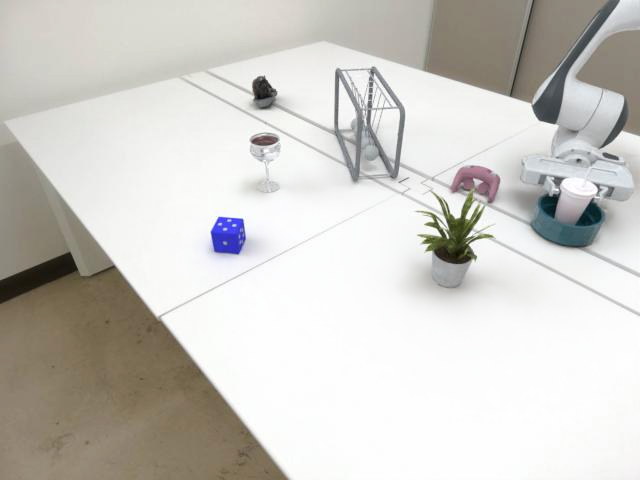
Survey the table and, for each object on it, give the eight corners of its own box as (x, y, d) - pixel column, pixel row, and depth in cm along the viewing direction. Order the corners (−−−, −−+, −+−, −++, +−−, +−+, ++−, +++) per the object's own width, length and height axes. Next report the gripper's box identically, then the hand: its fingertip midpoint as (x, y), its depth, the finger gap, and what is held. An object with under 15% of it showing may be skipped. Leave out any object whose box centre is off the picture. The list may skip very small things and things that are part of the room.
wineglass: (262, 197, 102) (257, 149, 95) (249, 184, 107) (243, 137, 99) (288, 188, 105) (286, 141, 98) (274, 175, 110) (270, 129, 102)
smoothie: (569, 240, 89) (597, 178, 80) (539, 224, 93) (562, 164, 84) (585, 227, 92) (613, 167, 84) (555, 213, 96) (579, 154, 87)
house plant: (415, 240, 90) (427, 168, 80) (487, 257, 86) (510, 183, 76) (398, 288, 80) (409, 212, 70) (479, 309, 76) (504, 232, 66)
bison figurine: (257, 96, 149) (254, 64, 143) (279, 96, 149) (277, 65, 142) (252, 111, 140) (248, 78, 133) (275, 111, 139) (272, 78, 133)
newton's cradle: (398, 181, 108) (406, 109, 97) (354, 184, 107) (358, 111, 95) (369, 126, 131) (374, 63, 120) (333, 129, 130) (334, 65, 119)
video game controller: (494, 202, 103) (505, 172, 102) (492, 203, 99) (503, 172, 98) (452, 190, 107) (461, 161, 105) (448, 191, 103) (457, 160, 101)
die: (214, 252, 88) (210, 231, 85) (221, 236, 92) (218, 216, 88) (239, 254, 87) (236, 234, 84) (246, 238, 91) (243, 218, 88)
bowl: (583, 213, 97) (592, 194, 94) (604, 250, 88) (614, 229, 85) (524, 210, 98) (531, 190, 95) (538, 245, 89) (546, 225, 86)
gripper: (526, 142, 98) (523, 173, 88) (633, 159, 92) (642, 194, 82) (518, 168, 102) (514, 200, 92) (620, 186, 96) (627, 222, 86)
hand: (575, 197), depth 87 cm, fingers closed on smoothie, 6 cm apart
